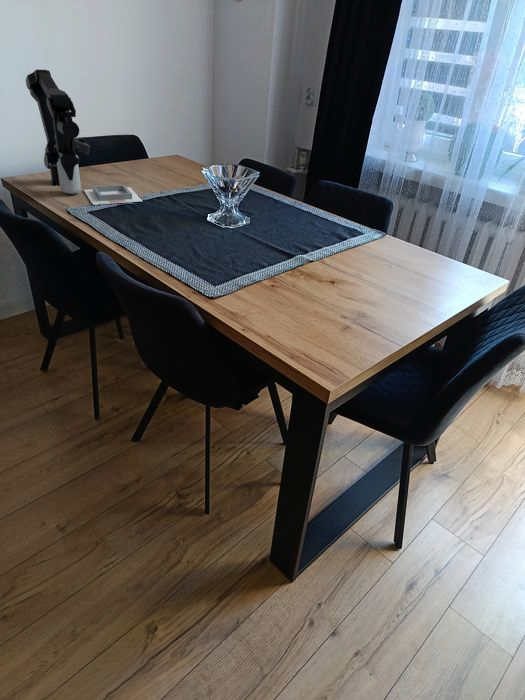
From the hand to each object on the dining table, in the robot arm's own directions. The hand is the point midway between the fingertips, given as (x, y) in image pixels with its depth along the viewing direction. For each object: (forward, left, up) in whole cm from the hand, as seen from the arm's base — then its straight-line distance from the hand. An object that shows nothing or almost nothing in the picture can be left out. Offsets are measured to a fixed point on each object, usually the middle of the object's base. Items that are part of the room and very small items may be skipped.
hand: (69, 177), depth 186 cm
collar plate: (+7, +14, -6) cm, 17 cm away
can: (0, 0, -6) cm, 6 cm away
